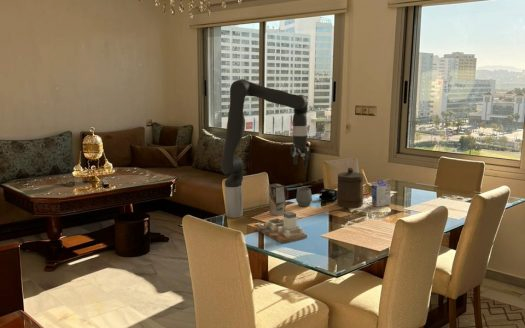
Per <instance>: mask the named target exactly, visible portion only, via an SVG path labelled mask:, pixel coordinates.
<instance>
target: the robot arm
mask: <svg viewBox="0 0 525 328" xmlns="http://www.w3.org/2000/svg"><path fill="white" fill-rule="evenodd" d="M246 97H253V98H258V99H260V100H261V99H262V100H264V101H266V102H268V103H272V104H276V105H280V106H285V107H288V108H290V109H294V111H293V112H294V113H293V116H292V144H290V156H292V161H293V162H292V163H293V165H295V166H296V165H298V164H299V163H298V162H299V161H298V159H299V158H298V156H299V155H300V157H301V158H302V167H303V168H307V167H308V160H310V159H311V148H310V146H306V144H308V125H307V124H308V123H307V122H308V121H307V120H308V119H307V117H308V116H307V114H308V98H307V97H306V95H304V94H293V93H289V92H287V91H284V90H280V89H276V88H271V87H266V86H263V85H259V84H256V83H254V82H251V81H249V80H246V79H243V78H240V79H237V80H234V81H233V82H232V84H231V85H230V88H229V109H228V115H227V123H226V131H225V132H226V133H225V141H224V145H223V146H224V147H223V152H222V157H221V161H220V169H221V173H222V174H224V175H226V176H228V175H229V176H228V177H227V178H226V179H225V180H224V195H225V196H224V197H225V199H224V200H225V202H224V203H225V216H226V217H227V218H230V219H237V218H241V217H243V216H244V215H243V214H244V213H243V212H244V211H243V209H244V208H243V190H242V189H243V185H242V182H243V180H244V177H243V176H244V163H243V160H242V158H241V157H240V156H238V155H235V153H236V149H238V146H239V144H240V143H241V141H242V139H243V137H244V132H245V124H246V123H245V122H246V121H245V115H244V105H245V98H246Z"/></svg>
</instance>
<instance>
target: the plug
mask: <svg viewBox="0 0 525 328" xmlns="http://www.w3.org/2000/svg"><path fill="white" fill-rule="evenodd" d="M282 216H283V220H284V229H286V230H293V229H296V226H297V213H295V212H293V211H288V212H287V211H286V213H283V215H282Z"/></svg>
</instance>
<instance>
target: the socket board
mask: <svg viewBox="0 0 525 328" xmlns="http://www.w3.org/2000/svg"><path fill="white" fill-rule="evenodd" d="M264 223H265V224H264V225H261V226H256V228H255V230H256V231H258V232H260V233H261V234H263V235H265V236H267V237H269V238H271V239H273V240H275V241H276V242H278V243H280V244H286V243H291V242H296V241H299V240H303V239H307V238H308V235H307V234H306V233H304V232H303V227H301V226H299V225H296V229H293V230H286V229H284V218H281V217H277V218H272V219H267V220H265V221H264Z"/></svg>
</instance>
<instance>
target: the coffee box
mask: <svg viewBox="0 0 525 328" xmlns="http://www.w3.org/2000/svg"><path fill="white" fill-rule="evenodd" d="M286 196H287V195H286V186H285V185H282V184H280V183H272V184H268V207H269V209H268V210H269V212H268V213H269V214H270V213H271V214H272V215H274V216H277V217H278V216H279V217H280V216H284V215H283V213H287V204H286V203H287V200H286Z"/></svg>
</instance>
